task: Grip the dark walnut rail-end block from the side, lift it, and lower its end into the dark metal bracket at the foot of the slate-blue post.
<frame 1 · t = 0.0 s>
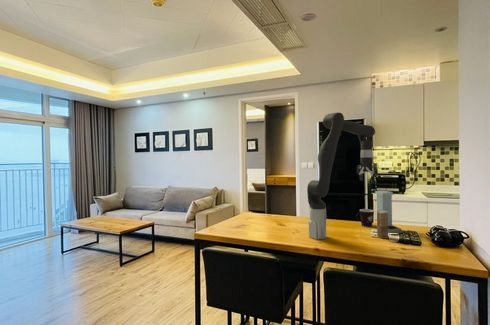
hand: (367, 181, 177), 29 cm above the table, tool pointing down, fingers open, 8 cm apart
post: (384, 229, 167), on the table
rail block: (382, 237, 152), on the table
coffee mug: (364, 225, 177), on the table
bracket: (391, 232, 160), on the table
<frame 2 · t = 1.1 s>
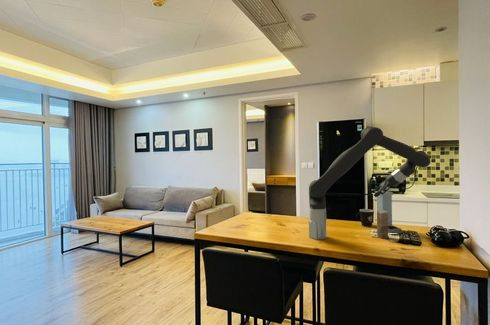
hand: (375, 193, 167), 23 cm above the table, tool tilted 50°, fingers open, 8 cm apart
nothing on the table moved.
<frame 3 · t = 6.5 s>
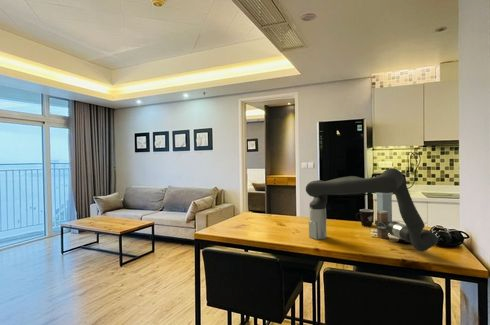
hand: (379, 222, 155), 8 cm above the table, tool horizontal, fingers closed on rail block, 4 cm apart
rail block: (382, 237, 152), on the table, touching gripper
everything else where it was.
when the fingers open (10 cm above the table, at t = 11.2 s): rail block drops 2 cm, resting in bracket.
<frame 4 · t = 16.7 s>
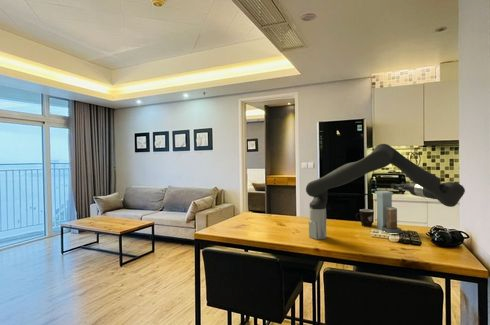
hand: (399, 185, 147), 30 cm above the table, tool horizontal, fingers open, 8 cm apart
rail block: (391, 232, 160), resting in bracket
everything else where it was.
at the end: rail block 0.1 cm off-centre on the bracket, point 0.0 cm above the bracket's base; rail block tilted 0°; the gripper is holding nothing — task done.
